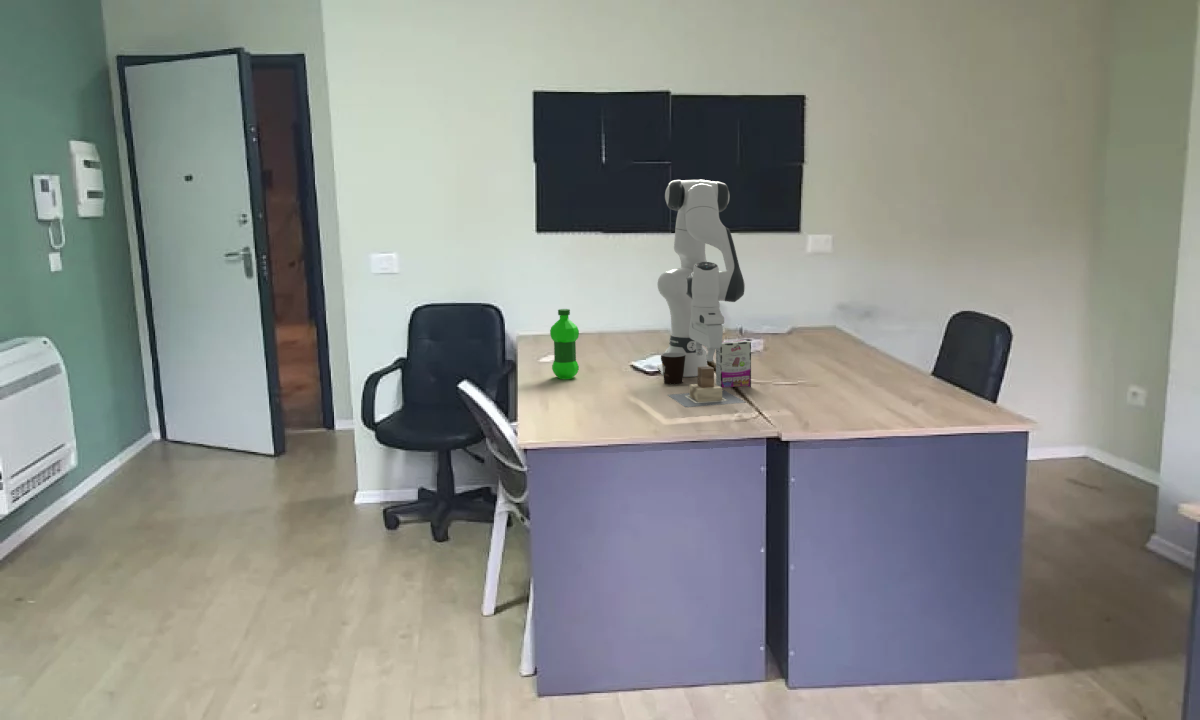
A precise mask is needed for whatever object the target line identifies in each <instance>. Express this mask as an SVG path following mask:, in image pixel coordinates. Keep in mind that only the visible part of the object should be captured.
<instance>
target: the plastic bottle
mask: <svg viewBox="0 0 1200 720" xmlns="http://www.w3.org/2000/svg"><path fill="white" fill-rule="evenodd" d="M557 315H558V316H559V319H558V320H557V321H555V323H554V324H553V325H552V326H550V329H549V334H550V338H551V340H552V341H553V353H554V354H553V355H554V360H553V362H552V365H551V369H552V372H553V375H554V376H556V377H557V378H558V380H559V379H560V380H572V379H573V378H574V377H575V376H576V375H577V374H578V373H579V371H580V370H579V368H580V367H579V366H580V365H579V364H578V361H577V355H576V354H577V351H576V349H577V346H576V345H577V344H576V342H577V340H578V339H579V335H580V330H579V328H578V326H577V325H576V324H575V323H574V322H573V321H572V320H570V319H569V316H570V315H571V310H570V308H559V309H557Z"/></svg>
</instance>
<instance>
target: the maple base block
mask: <svg viewBox="0 0 1200 720" xmlns="http://www.w3.org/2000/svg"><path fill="white" fill-rule="evenodd" d="M722 390H723V387H720V386H718V385H716V383H714V387H707V388H701V387H700V386H698V383H693V384H690V383H689V393H690V397H691V398H692V399H694V400H696V401H697V402H707V401H719V400H722Z"/></svg>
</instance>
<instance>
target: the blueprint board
mask: <svg viewBox="0 0 1200 720" xmlns="http://www.w3.org/2000/svg"><path fill="white" fill-rule="evenodd" d="M667 396H668V397H669V398H671V399H672V400H674V401H676V402H677V403H678V404H679V405H681V406H683V407H684V408H694V407H695V408H696V407H707V406H717V405H718V406H719V405H732V404H743V403H744V404H745V403H747V402H746V401H744V399H741V398H739V397H738V396H735V395H734V394H731V392H728V391H726V390H725V389H724V390H723V389H722V400H719V401H707V402H697V401H696V400H694V399H692V398H691V397H690V392H686V393H685V392H683V393H673V394H667Z"/></svg>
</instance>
